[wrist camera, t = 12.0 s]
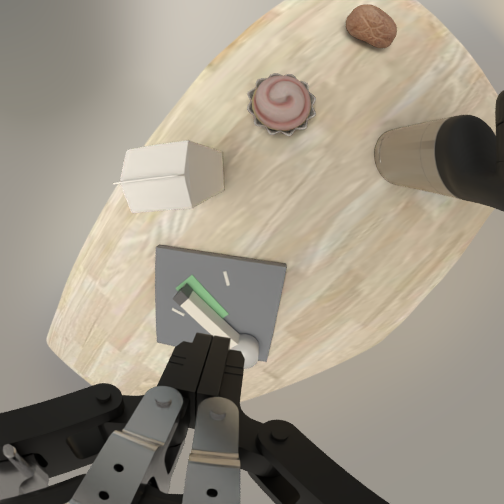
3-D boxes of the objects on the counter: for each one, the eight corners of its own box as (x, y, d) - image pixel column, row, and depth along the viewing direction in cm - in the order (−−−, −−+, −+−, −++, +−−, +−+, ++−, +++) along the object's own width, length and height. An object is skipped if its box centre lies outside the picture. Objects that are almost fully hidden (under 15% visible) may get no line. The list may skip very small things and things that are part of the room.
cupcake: (256, 145, 39) (252, 138, 29) (243, 89, 36) (236, 66, 27) (317, 135, 38) (332, 125, 28) (303, 78, 35) (313, 55, 26)
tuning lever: (264, 346, 47) (264, 359, 43) (244, 360, 48) (242, 372, 44) (192, 277, 43) (186, 286, 40) (172, 295, 45) (166, 305, 41)
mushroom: (389, 47, 32) (409, 30, 24) (367, 61, 33) (385, 44, 25) (359, 17, 30) (373, -5, 23) (335, 29, 32) (347, 7, 24)
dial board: (285, 263, 44) (286, 267, 42) (266, 356, 50) (266, 362, 48) (159, 244, 44) (155, 247, 42) (159, 338, 50) (156, 342, 48)
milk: (224, 190, 41) (183, 217, 20) (186, 193, 41) (114, 222, 20) (222, 150, 39) (177, 136, 18) (183, 154, 40) (107, 148, 19)
